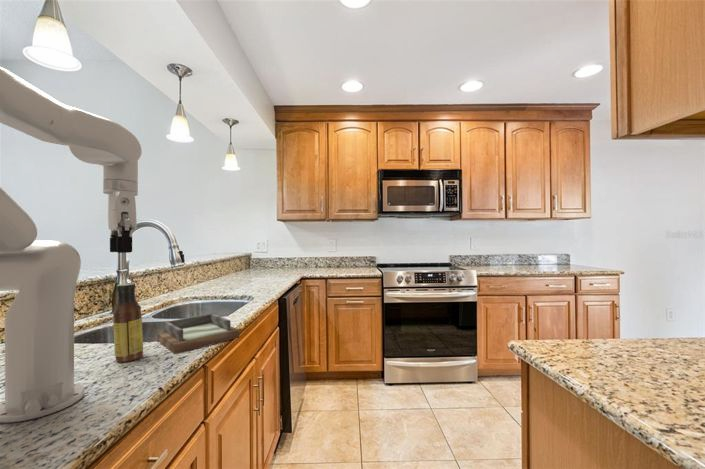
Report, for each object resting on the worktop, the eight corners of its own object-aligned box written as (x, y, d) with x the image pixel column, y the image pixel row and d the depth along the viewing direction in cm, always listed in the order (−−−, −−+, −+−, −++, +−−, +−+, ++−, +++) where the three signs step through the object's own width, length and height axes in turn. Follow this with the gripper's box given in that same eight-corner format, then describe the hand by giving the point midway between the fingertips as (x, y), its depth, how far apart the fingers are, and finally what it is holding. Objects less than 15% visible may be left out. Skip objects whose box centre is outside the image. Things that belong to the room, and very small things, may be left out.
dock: (239, 337, 101) (239, 320, 102) (174, 353, 88) (173, 333, 88) (218, 328, 113) (218, 312, 113) (157, 341, 99) (157, 323, 99)
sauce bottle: (143, 352, 89) (143, 281, 89) (142, 360, 83) (142, 284, 84) (114, 357, 85) (114, 283, 86) (111, 365, 80) (111, 286, 80)
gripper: (145, 186, 82) (145, 252, 82) (130, 193, 94) (130, 251, 94) (109, 182, 77) (109, 253, 76) (98, 191, 89) (97, 252, 89)
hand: (120, 252), depth 85 cm, fingers open, 9 cm apart
